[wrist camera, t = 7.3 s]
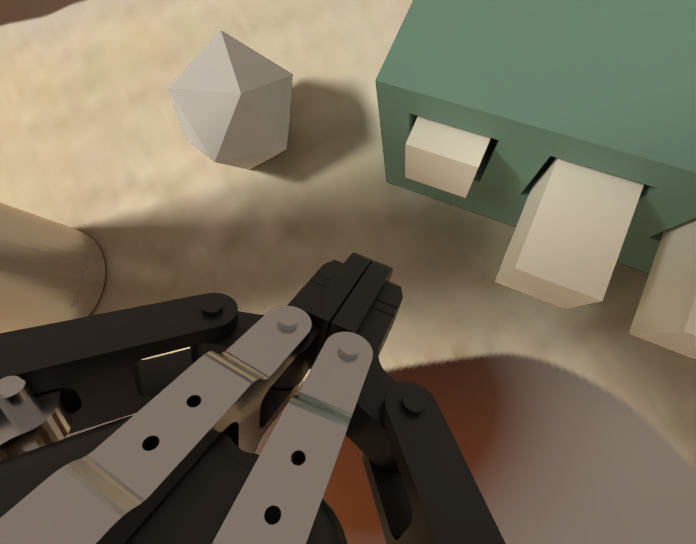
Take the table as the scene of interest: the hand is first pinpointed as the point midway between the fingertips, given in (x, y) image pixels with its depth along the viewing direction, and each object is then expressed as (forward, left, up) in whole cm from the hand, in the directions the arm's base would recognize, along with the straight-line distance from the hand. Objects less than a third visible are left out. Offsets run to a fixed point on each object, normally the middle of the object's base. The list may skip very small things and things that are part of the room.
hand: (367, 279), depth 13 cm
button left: (+4, +10, -8) cm, 13 cm away
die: (-11, +14, -13) cm, 22 cm away
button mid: (+9, +4, -8) cm, 13 cm away
